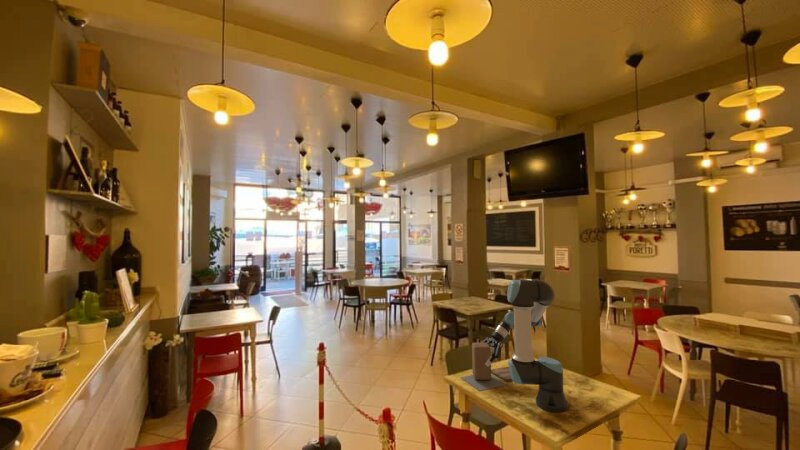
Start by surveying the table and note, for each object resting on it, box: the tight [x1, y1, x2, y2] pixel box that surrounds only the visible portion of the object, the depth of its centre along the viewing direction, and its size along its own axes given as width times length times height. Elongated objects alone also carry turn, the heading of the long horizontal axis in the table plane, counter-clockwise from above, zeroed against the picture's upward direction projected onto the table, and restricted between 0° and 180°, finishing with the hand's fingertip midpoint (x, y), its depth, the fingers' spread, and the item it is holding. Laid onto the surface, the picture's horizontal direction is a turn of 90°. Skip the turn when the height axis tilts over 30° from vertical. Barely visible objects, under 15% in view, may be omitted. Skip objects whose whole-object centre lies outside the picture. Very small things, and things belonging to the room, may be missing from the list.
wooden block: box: [471, 342, 492, 380], centre depth 209 cm, size 10×10×20 cm
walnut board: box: [491, 366, 513, 383], centre depth 214 cm, size 16×16×2 cm
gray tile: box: [460, 374, 508, 392], centre depth 205 cm, size 20×20×1 cm
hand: (480, 362), depth 209 cm, fingers closed on wooden block, 12 cm apart
